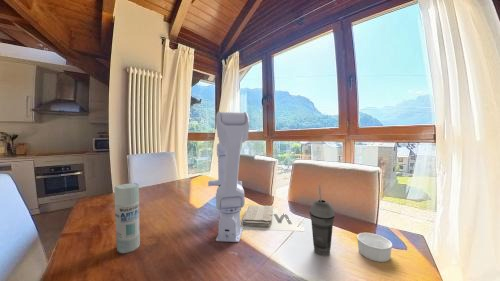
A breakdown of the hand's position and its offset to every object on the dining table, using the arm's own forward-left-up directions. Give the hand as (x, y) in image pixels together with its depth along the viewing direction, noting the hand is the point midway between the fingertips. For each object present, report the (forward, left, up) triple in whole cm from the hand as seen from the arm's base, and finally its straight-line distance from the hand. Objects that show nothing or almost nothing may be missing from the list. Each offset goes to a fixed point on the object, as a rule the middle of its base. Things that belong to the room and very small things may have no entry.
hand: (225, 202), depth 84 cm
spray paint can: (-25, +26, -7) cm, 37 cm away
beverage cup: (-22, -35, -7) cm, 42 cm away
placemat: (0, -20, -6) cm, 21 cm away
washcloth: (0, -15, -7) cm, 16 cm away
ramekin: (-22, -50, -7) cm, 55 cm away
